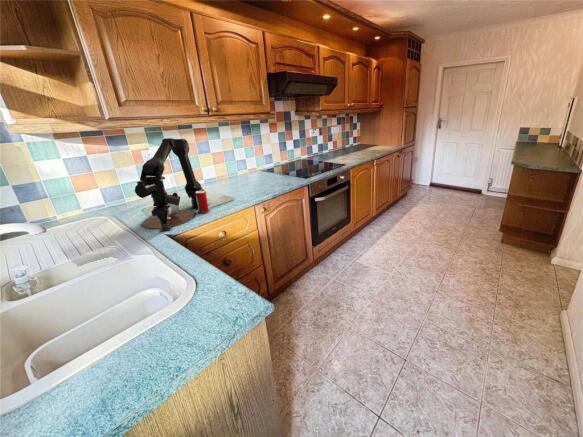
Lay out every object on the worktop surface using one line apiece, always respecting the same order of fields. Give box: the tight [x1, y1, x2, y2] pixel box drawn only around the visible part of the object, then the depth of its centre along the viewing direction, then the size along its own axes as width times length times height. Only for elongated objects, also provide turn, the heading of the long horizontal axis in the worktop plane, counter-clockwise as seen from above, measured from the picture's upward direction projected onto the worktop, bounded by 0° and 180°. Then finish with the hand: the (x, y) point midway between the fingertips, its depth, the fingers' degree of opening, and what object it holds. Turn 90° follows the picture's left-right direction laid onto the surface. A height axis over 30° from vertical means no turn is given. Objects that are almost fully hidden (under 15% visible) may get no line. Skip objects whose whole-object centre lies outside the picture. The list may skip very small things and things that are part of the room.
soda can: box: [196, 189, 210, 214], centre depth 141 cm, size 6×6×12 cm
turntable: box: [142, 209, 195, 233], centre depth 133 cm, size 29×25×7 cm
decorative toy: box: [155, 203, 180, 219], centre depth 134 cm, size 12×10×20 cm
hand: (165, 223), depth 122 cm, fingers closed on turntable, 3 cm apart
